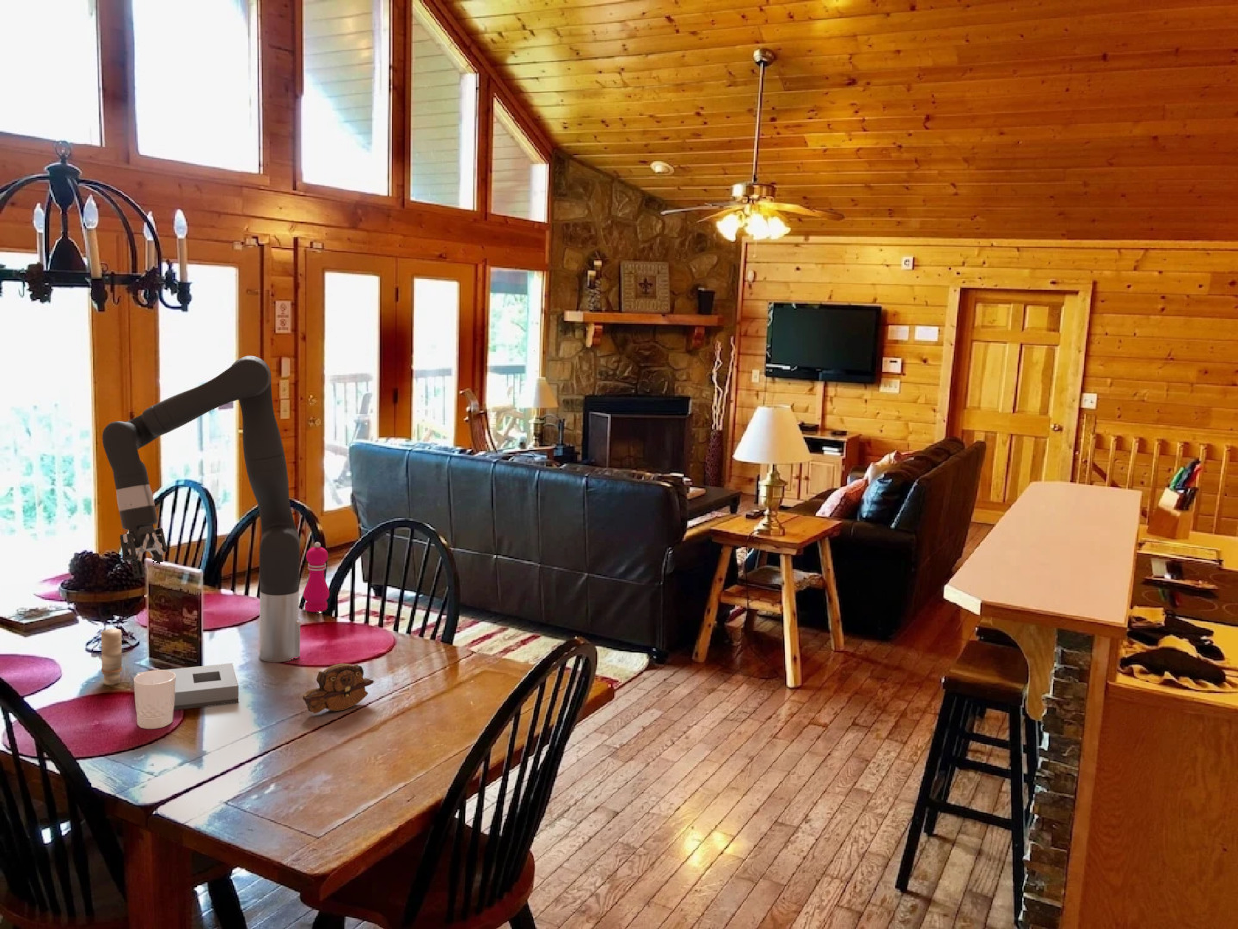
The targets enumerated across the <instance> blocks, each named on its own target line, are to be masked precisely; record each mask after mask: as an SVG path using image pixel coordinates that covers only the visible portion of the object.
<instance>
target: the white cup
mask: <svg viewBox="0 0 1238 929" xmlns="http://www.w3.org/2000/svg"><path fill="white" fill-rule="evenodd" d="M167 670H168V669H154V670H148V671H142V672H143V673H141V674H138V675H137V674H136V675H135V676H134V677H133V685H134V686H133V689H134V702H135V703H134V704H135V712H136V724H137V726H139V728H142V729H147V730H153V729H154V730H155V729H161V728H164V727H166V726H167V727H168V726H169V725H170V724H171V723H173V721H174V710H173V709H174V702H175V683H176V674H175V673H174V672H171V671H167Z"/></svg>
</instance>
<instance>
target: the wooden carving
mask: <svg viewBox="0 0 1238 929" xmlns="http://www.w3.org/2000/svg"><path fill="white" fill-rule="evenodd" d="M364 673H365V672H364V669H363V667H362V665H359V664H357V663H355V664H351V663H337V664H333V665H330V666H329V667H327V668H325V669H324V670H323V671H321V670H320V671H318V674H317V676H316V679H315V680H316V683H317V684H318V686H319V687H317V688H313V689H310V690H308V691H306V693H304V694H303V695H302V700H303V701H304V702H305V704H306V708H307V710H308V712H309V713H313V714H318V713H320V712H322V711H323V710H328V711H334V712H336V711H338V712H339V711H343V710H347V709H349V707H350V708H352V707H354V706H355V705H357V704H359V703H360V702H361V701H362V700H364V699H365V698H366V697H367V696H368V694H369V692H367V690H366V687H368V686H371V685H373V684H374V679H370V678H368V677H367V678H366V677H365V678H364Z"/></svg>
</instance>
